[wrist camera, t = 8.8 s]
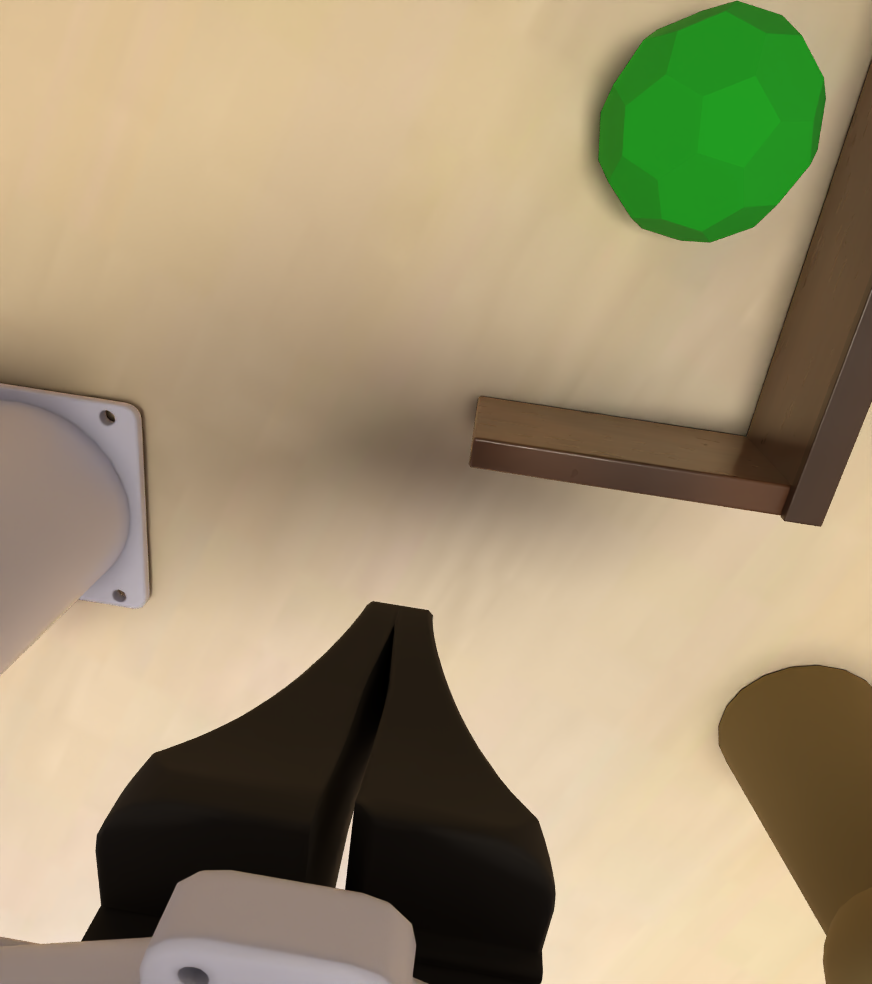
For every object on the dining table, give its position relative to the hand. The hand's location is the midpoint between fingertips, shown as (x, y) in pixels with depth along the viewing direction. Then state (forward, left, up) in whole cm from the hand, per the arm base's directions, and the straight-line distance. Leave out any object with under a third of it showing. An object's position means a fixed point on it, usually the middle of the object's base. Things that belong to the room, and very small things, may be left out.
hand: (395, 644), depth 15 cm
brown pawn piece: (+15, -8, -10) cm, 20 cm away
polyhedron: (+5, +11, -10) cm, 16 cm away
